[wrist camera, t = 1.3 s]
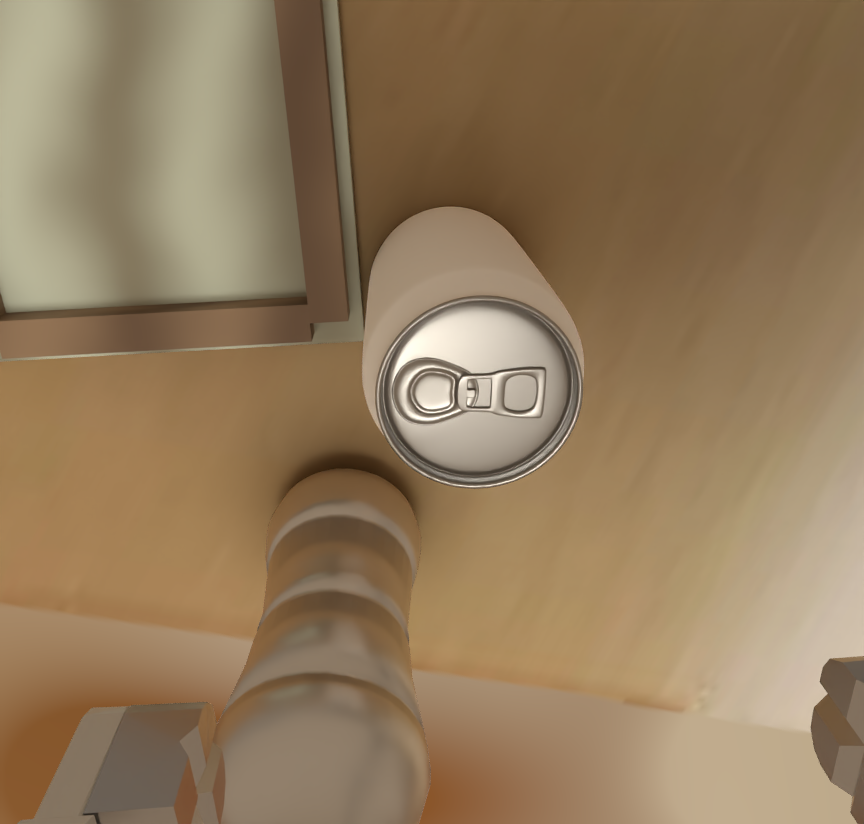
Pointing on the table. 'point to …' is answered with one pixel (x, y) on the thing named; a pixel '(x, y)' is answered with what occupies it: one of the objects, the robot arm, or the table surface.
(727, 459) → the table surface
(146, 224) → the wooden picture frame
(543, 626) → the table surface
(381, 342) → the can
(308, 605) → the plastic bottle
